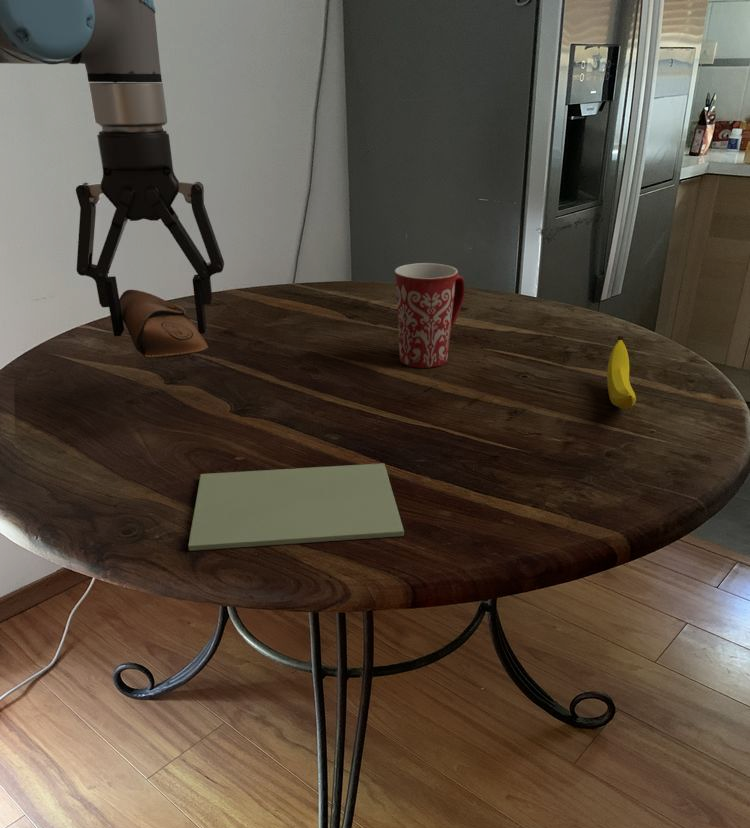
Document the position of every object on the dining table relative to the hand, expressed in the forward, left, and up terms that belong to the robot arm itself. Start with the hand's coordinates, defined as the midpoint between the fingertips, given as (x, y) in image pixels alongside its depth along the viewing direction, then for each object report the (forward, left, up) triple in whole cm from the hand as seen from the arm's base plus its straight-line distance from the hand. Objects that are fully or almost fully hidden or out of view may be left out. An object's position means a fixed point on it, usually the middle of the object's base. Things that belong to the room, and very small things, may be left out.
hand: (161, 331), depth 91 cm
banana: (+58, -6, -10) cm, 59 cm away
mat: (+15, -27, -10) cm, 33 cm away
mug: (+37, +15, -10) cm, 41 cm away
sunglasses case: (0, 0, 0) cm, 1 cm away
